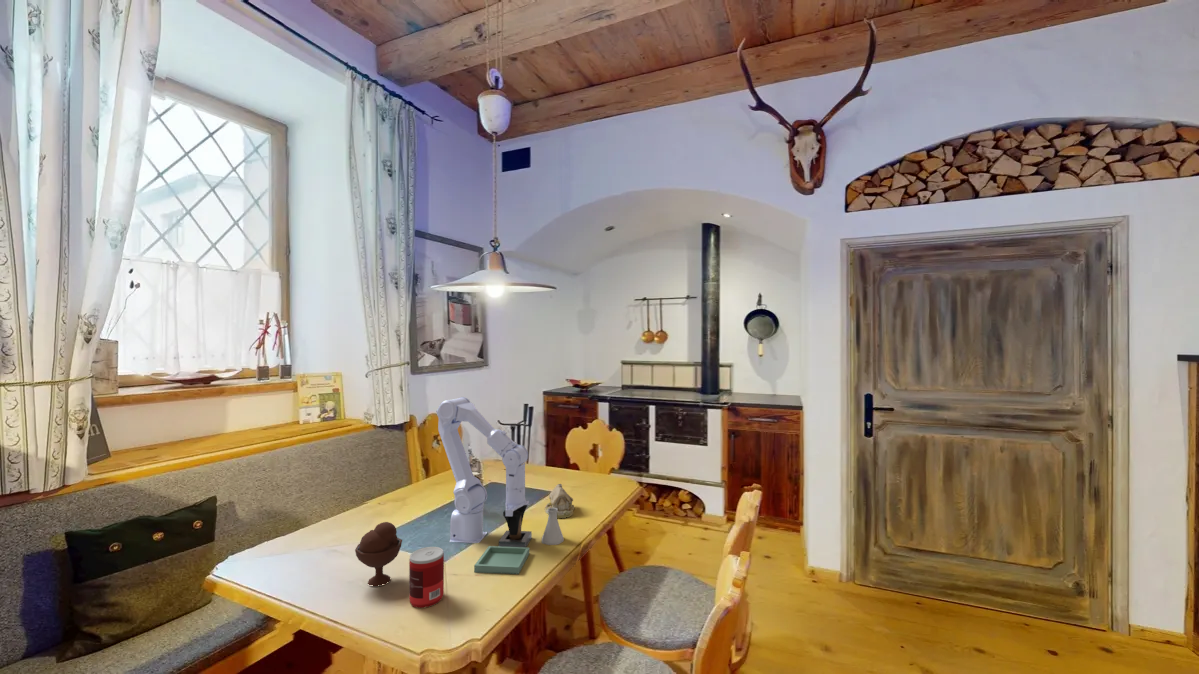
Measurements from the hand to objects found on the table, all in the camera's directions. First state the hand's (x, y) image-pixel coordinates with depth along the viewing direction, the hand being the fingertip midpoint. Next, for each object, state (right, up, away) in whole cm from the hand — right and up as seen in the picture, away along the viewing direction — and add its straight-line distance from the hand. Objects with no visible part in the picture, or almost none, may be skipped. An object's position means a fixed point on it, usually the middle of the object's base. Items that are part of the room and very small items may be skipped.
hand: (515, 531), depth 145 cm
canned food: (-16, -4, -31) cm, 35 cm away
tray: (-1, -4, -13) cm, 14 cm away
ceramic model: (+11, -4, +28) cm, 30 cm away
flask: (+11, -4, +2) cm, 12 cm away
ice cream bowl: (-31, -4, -22) cm, 38 cm away
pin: (0, -2, 0) cm, 2 cm away
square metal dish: (0, -4, 0) cm, 4 cm away
